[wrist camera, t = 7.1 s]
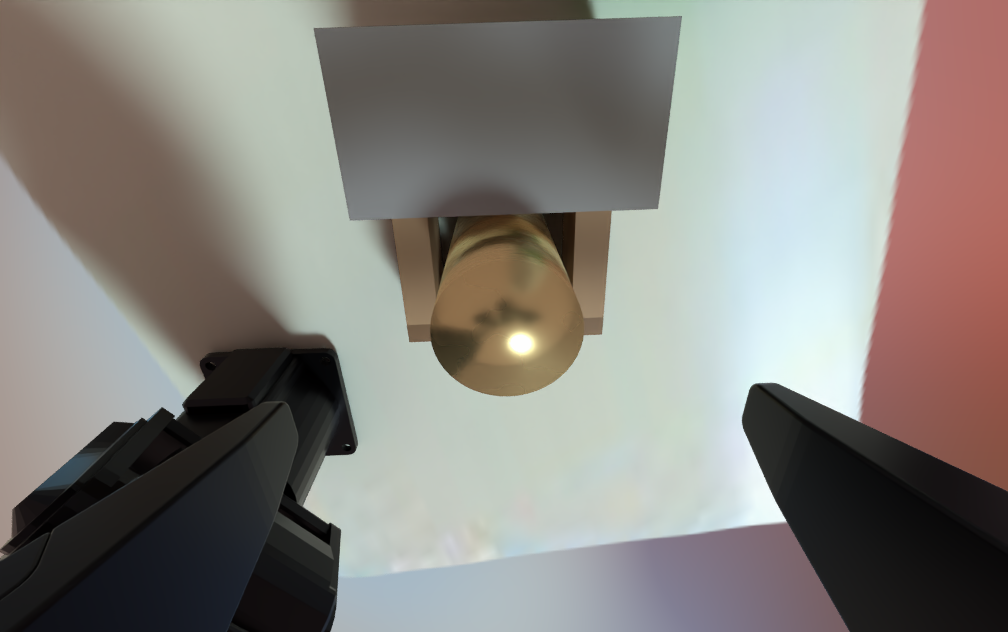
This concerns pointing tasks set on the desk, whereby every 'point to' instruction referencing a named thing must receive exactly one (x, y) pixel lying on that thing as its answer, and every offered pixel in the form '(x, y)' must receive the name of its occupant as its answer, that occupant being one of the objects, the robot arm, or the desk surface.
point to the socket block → (500, 134)
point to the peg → (505, 307)
